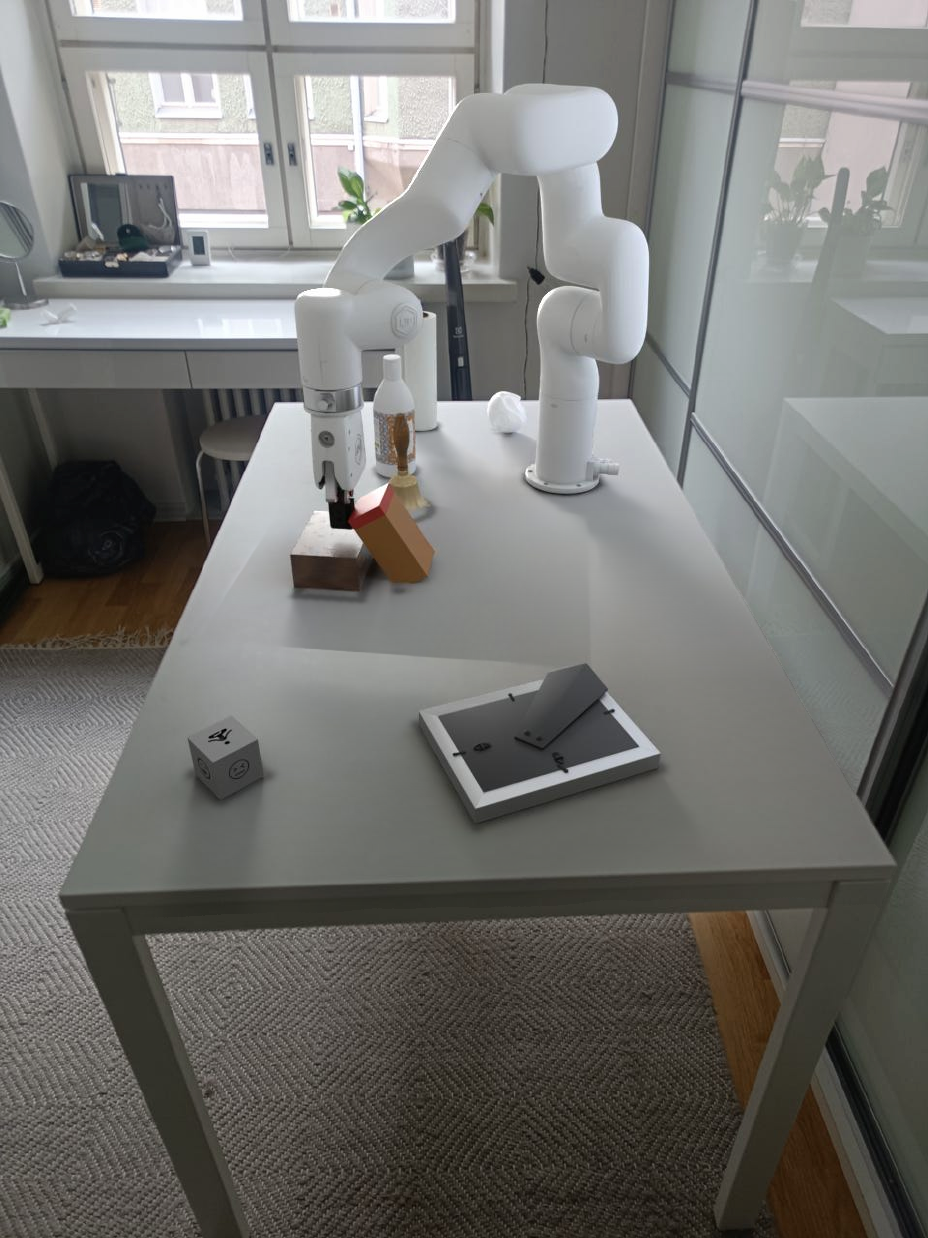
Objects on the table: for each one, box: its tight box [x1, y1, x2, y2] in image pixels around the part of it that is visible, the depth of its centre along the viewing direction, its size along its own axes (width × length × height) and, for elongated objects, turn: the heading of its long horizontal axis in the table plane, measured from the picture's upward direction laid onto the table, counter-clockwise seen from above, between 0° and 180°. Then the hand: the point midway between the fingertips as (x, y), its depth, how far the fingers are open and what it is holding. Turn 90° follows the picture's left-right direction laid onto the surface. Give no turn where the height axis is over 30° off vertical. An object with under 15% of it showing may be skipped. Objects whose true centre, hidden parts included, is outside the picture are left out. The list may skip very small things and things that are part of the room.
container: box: [348, 482, 435, 584], centre depth 119 cm, size 11×7×13 cm, turn 84°
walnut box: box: [289, 510, 374, 593], centre depth 122 cm, size 9×13×6 cm
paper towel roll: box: [394, 310, 438, 432], centre depth 165 cm, size 7×6×21 cm
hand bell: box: [388, 413, 431, 512], centre depth 136 cm, size 8×8×16 cm
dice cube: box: [187, 714, 265, 801], centre depth 88 cm, size 5×5×5 cm
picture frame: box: [418, 662, 662, 825], centre depth 93 cm, size 16×3×21 cm
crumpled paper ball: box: [486, 390, 528, 434], centre depth 167 cm, size 8×8×8 cm
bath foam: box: [372, 353, 417, 479], centre depth 147 cm, size 7×7×20 cm
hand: (343, 526), depth 119 cm, fingers closed
